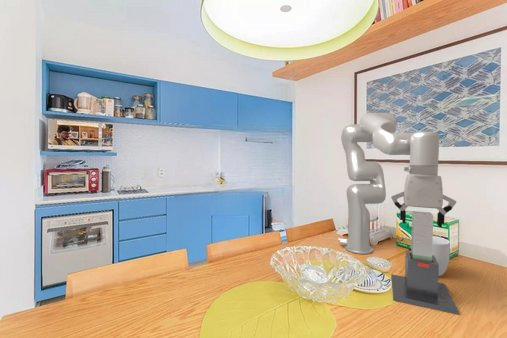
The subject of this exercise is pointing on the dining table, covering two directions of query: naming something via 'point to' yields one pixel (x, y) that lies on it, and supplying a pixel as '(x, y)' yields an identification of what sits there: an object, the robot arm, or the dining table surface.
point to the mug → (441, 253)
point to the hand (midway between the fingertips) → (421, 224)
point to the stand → (422, 286)
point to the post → (422, 236)
